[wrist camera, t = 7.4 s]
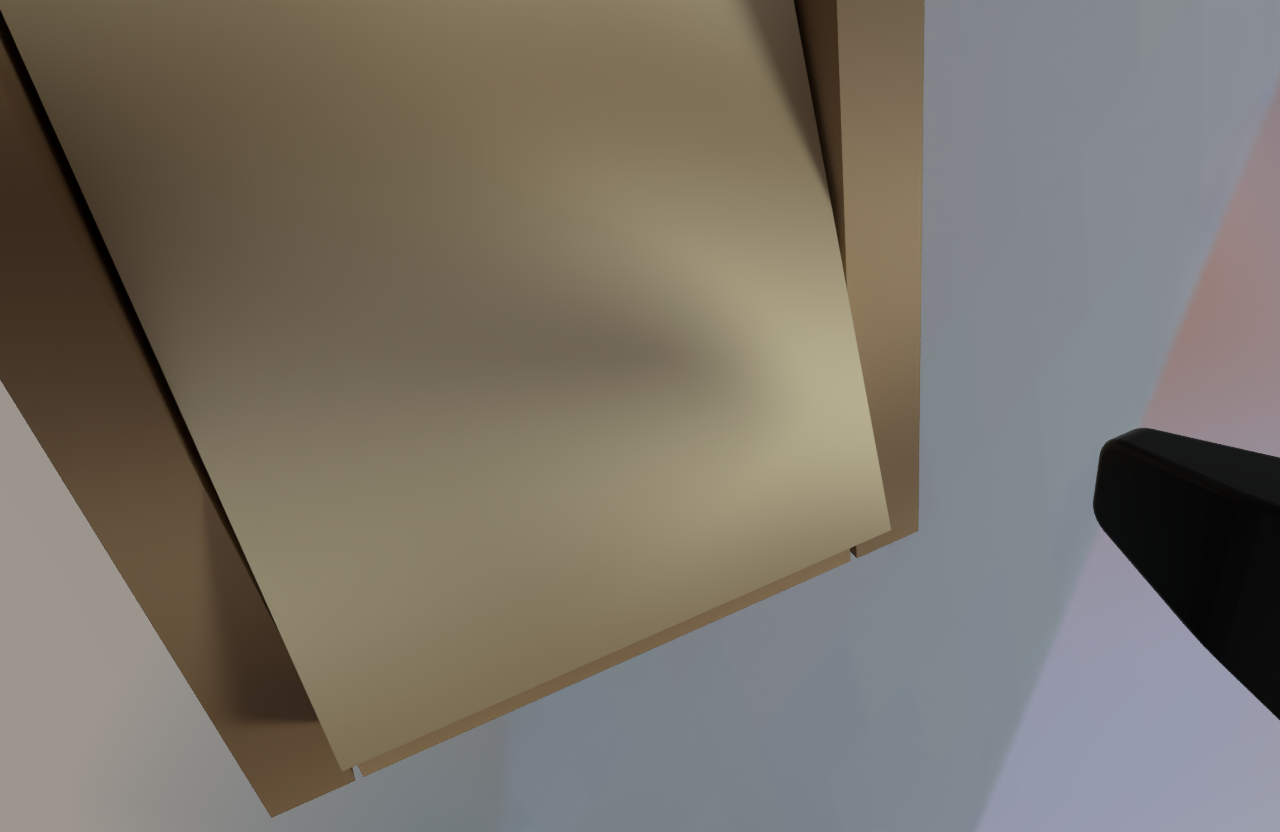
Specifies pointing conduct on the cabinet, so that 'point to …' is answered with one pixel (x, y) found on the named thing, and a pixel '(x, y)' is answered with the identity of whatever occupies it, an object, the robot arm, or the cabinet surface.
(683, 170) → the wooden tray
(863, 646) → the cabinet surface
